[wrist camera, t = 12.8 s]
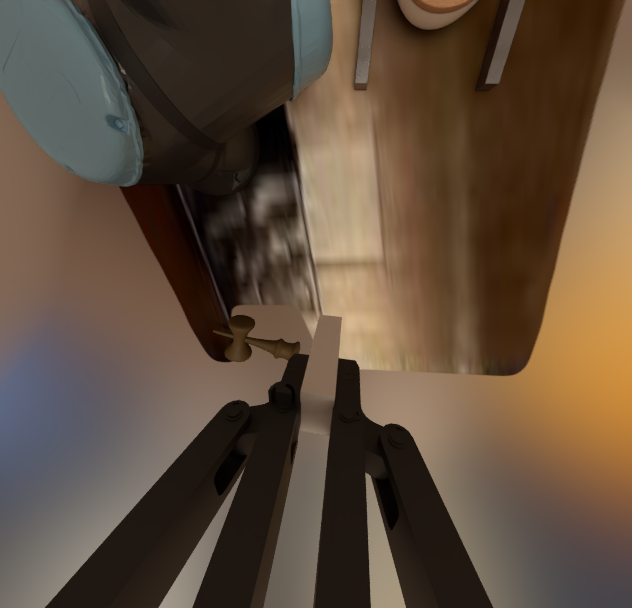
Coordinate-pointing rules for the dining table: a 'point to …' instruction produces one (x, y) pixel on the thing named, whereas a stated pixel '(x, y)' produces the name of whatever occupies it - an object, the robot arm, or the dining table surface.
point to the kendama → (253, 341)
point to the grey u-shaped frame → (494, 56)
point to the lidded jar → (434, 12)
